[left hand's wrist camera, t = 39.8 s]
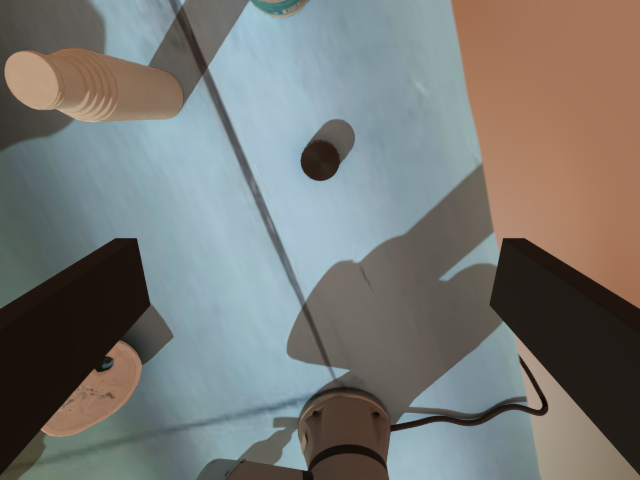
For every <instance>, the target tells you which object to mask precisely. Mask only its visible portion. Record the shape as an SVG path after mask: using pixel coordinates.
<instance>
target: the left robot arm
mask: <svg viewBox="0 0 640 480" xmlns="http://www.w3.org/2000/svg"><path fill="white" fill-rule="evenodd" d="M149 306H150V300H149V295H148V291H147V286H146V281H145V276H144V271H143V266H142V261H141V256H140V251H139V246H138V241H137V238H115V239H113V240H112V241H110V242H109V243H107V244H105V245H104V246H102V247H100V248H99V249H97V250H96V251H94V252H92V253H91V254H89V255H87V256H86V257H84V258H82V259H81V260H79V261H78V262H76V263H74V264H73V265H71V266H69V267H68V268H66V269H65V270H63V271H61V272H60V273H58V274H56V275H55V276H53V277H52V278H50V279H48V280H47V281H45V282H43V283H42V284H40V285H38V286H37V287H35V288H34V289H32V290H30V291H29V292H27V293H25V294H24V295H22V296H21V297H19V298H17V299H16V300H14V301H12V302H11V303H9V304H7V305H6V306H4V307H3V308H1V309H0V475H1V474H2V473H3V472H4V471H5V469H6V468H7V467H8V466H9V465H10V464H11V463H12V461H13V460H14V459H15V458H16V457H17V456H18V455H19V454H20V452H21V451H22V450H23V449H24V448H25V447H26V446H27V444H28V443H29V442H30V441H31V440H32V439H33V438H34V437H35V435H36V434H37V433H38V432H39V431H40V430H41V429H42V427H43V426H44V425H45V424H46V423H47V422H48V421H49V420H50V418H51V417H52V416H53V415H54V414H55V413H56V412H57V410H58V409H59V408H60V407H61V406H62V405H63V404H64V403H65V401H66V400H67V399H68V398H69V397H70V396H71V395H72V393H73V392H74V391H75V390H76V389H77V388H78V387H79V386H80V384H81V383H82V382H83V381H84V380H85V379H86V378H87V376H88V375H89V374H90V373H91V372H92V371H93V370H94V369H95V367H96V366H97V365H98V364H99V363H100V362H101V361H102V359H103V358H104V357H105V356H106V355H107V354H108V353H109V351H110V350H111V349H112V348H113V347H114V346H115V345H116V344H117V342H118V341H119V340H120V339H121V338H122V337H123V336H124V334H125V333H126V332H127V331H128V330H129V329H130V328H131V327H132V325H133V324H134V323H135V322H136V321H137V320H138V319H139V317H140V316H141V315H142V314H143V313H144V312H145V311H146V310H147V308H148V307H149ZM490 306H491V307H492V308H493V310H494V311H495V312H496V313H497V314H498V315H499V316H500V317H501V319H502V320H503V321H504V322H505V323H506V324H507V325H508V327H509V328H510V329H511V330H512V331H513V332H514V333H515V334H516V336H517V337H518V338H519V339H520V340H521V341H522V342H523V343H524V345H525V346H526V347H527V348H528V349H529V350H530V351H531V353H532V354H533V355H534V356H535V357H536V358H537V359H538V361H539V362H540V363H541V364H542V365H543V366H544V367H545V369H546V370H547V371H548V372H549V373H550V374H551V375H552V376H553V378H554V379H555V380H556V381H557V382H558V383H559V384H560V386H561V387H562V388H563V389H564V390H565V391H566V392H567V393H568V395H569V396H570V397H571V398H572V399H573V400H574V401H575V402H576V404H577V405H578V406H579V407H580V408H581V409H582V410H583V412H584V413H585V414H586V415H587V416H588V417H589V418H590V419H591V421H592V422H593V423H594V424H595V425H596V426H597V427H598V429H599V430H600V431H601V432H602V433H603V434H604V435H605V437H606V438H607V439H608V440H609V441H610V442H611V443H612V444H613V446H614V447H615V448H616V449H617V450H618V451H619V452H620V454H621V455H622V456H623V457H624V458H625V459H626V460H627V461H628V463H629V464H630V465H631V466H632V467H633V468H634V469H635V471H636V472H637V473H638V474H639V475H640V309H639V308H637V307H636V306H634V305H632V304H631V303H629V302H628V301H626V300H624V299H623V298H621V297H619V296H618V295H616V294H615V293H613V292H611V291H610V290H608V289H606V288H605V287H603V286H602V285H600V284H598V283H597V282H595V281H593V280H592V279H590V278H588V277H587V276H585V275H584V274H582V273H580V272H579V271H577V270H575V269H574V268H572V267H571V266H569V265H567V264H566V263H564V262H562V261H561V260H559V259H558V258H556V257H554V256H553V255H551V254H549V253H548V252H546V251H544V250H543V249H541V248H540V247H538V246H536V245H535V244H533V243H531V242H530V241H528V240H527V239H525V238H503V241H502V247H501V251H500V256H499V261H498V266H497V271H496V276H495V281H494V286H493V291H492V295H491V300H490ZM518 355H519V354H518ZM519 362H520V364H521V366H522V367H523V369H524V370H525V372H526V374H527V376H528V377H529V379H530V381H531V383H532V385H533V387H534V388H535V390H536V392H537V394H538V396H539V398H540V400H541V402H542V408H541V409H540V410H535V409H532V408H529V407H526V406H523V405H519V404H507V405H503V406H500V407H498V408H496V409H494V410H493V411H491V412H489V413H488V414H486V415H485V416H483V417H480V418H478V419H474V420H460V419H456V418H452V417H448V416H431V417H427V418H423V419H420V420H416V421H411V422H406V423H401V424H396V425H391V426H390V421H389V417H388V413H387V410H386V408H385V407H384V405H383V404H382V403H381V402H380V401H379V400H378V399H377V398H376V397H374V396H373V395H371V394H369V393H367V392H365V391H362V390H358V389H352V388H337V389H332V390H328V391H325V392H322V393H320V394H318V395H316V396H315V397H313V398H312V399H311V400H309V401H308V402H307V403H306V405H305V406H304V407H303V409H302V411H301V413H300V416H299V425H298V436H299V440H300V443H301V450H302V454H304V457H305V460H306V464H307V467H308V471H304V470H298V469H292V468H286V467H280V466H274V465H268V464H261V463H255V462H249V461H246V460H245V459H240V460H229V459H215V460H212V461H211V462H209V463H208V464H207V465H206V466H205V467H204V468H203V470H202V471H201V472H200V474H199V476H198V477H197V479H196V480H389V476H388V471H387V465H386V462H387V455H388V448H389V441H390V434H391V432H392V431H397V430H402V429H407V428H412V427H417V426H421V425H424V424H428V423H432V422H450V423H454V424H458V425H463V426H475V425H479V424H482V423H485V422H487V421H488V420H490V419H492V418H493V417H495V416H497V415H498V414H500V413H502V412H505V411H508V410H521V411H524V412H527V413H530V414H533V415H537V416H543V415H545V414H546V413H547V411H548V403H547V400H546V398H545V396H544V394H543V392H542V390H541V389H540V387H539V385H538V383H537V381H536V380H535V378H534V376H533V374H532V373H531V371H530V370H529V368H528V366H527V365H526V363H525V362H524V361H523V359H522V358H521V356H520V355H519Z"/></svg>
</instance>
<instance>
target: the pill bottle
mask: <svg viewBox="0 0 640 480" xmlns="http://www.w3.org/2000/svg"><path fill="white" fill-rule="evenodd" d="M250 1H251V2H252V4H253V5H254V6H255V7H256V8H257V9H258V10H259V11H261V12H262V13H264V14H265V15H268V16H270V17H274V18H286V17H290V16H292V15H294V14H296V13H297V12H299V11H300V10H301V9H302V8H303V7H304V6H305V4H306V3H307V1H308V0H250Z"/></svg>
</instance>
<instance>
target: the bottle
mask: <svg viewBox="0 0 640 480" xmlns="http://www.w3.org/2000/svg"><path fill="white" fill-rule="evenodd" d="M5 79H6V82H7V85H8V87H9V89H10V90H11V92H12V93H13V94H14V96H15V97H16V98H17V99H18V100H20V101H21V102H22V103H24V104H25V105H27V106H29V107H30V108H34V109H37V110H51V109H57V110H59V111H61V112H63V113H65V114H67V115H69V116H70V117H72V118H75V119H78V120H82V121H86V122H109V121H133V120H157V119H169V118H172V117H174V116H175V115H177V114H178V113H179V111H180V110H181V108H182V105H183V91H182V88H181V86H180V84H179V82H178V81H177V80H176V79H175V77H173V76H172V75H171V74H170V73H168V72H166V71H163V70H160V69H156V68H152V67H149V66H145V65H141V64H138V63H134V62H130V61H126V60H123V59H119V58H115V57H112V56H108V55H104V54H101V53H97V52H93V51H89V50H86V49H81V48H66V49H62V50H60V51H57V52H55V53H52V54H49V55H44V54H42V53H39V52H36V51H20V52H17V53H14V54H13V55H12V56H10V57H9V59H8V60H7V62H6V65H5Z"/></svg>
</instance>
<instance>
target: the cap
mask: <svg viewBox="0 0 640 480" xmlns="http://www.w3.org/2000/svg"><path fill="white" fill-rule="evenodd" d="M339 162H340V160H339V154H338V152H337V149H336V148H335V147H334V146H333V145H332V144H331V143H329V142H327V141H324V140H317V141H313V142H311V143H309V144H308V145H307V146H306V148H304V151H303V153H302V156H301V167H302V169H303V171H304V173H305V174H306V175H307V176H308V177H309V178H311V179H313V180H317V181H324V180H327V179H329V178H331V177H332V176H333V175H334V174H335V173H336V172H337V170H338V168H339Z"/></svg>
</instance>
